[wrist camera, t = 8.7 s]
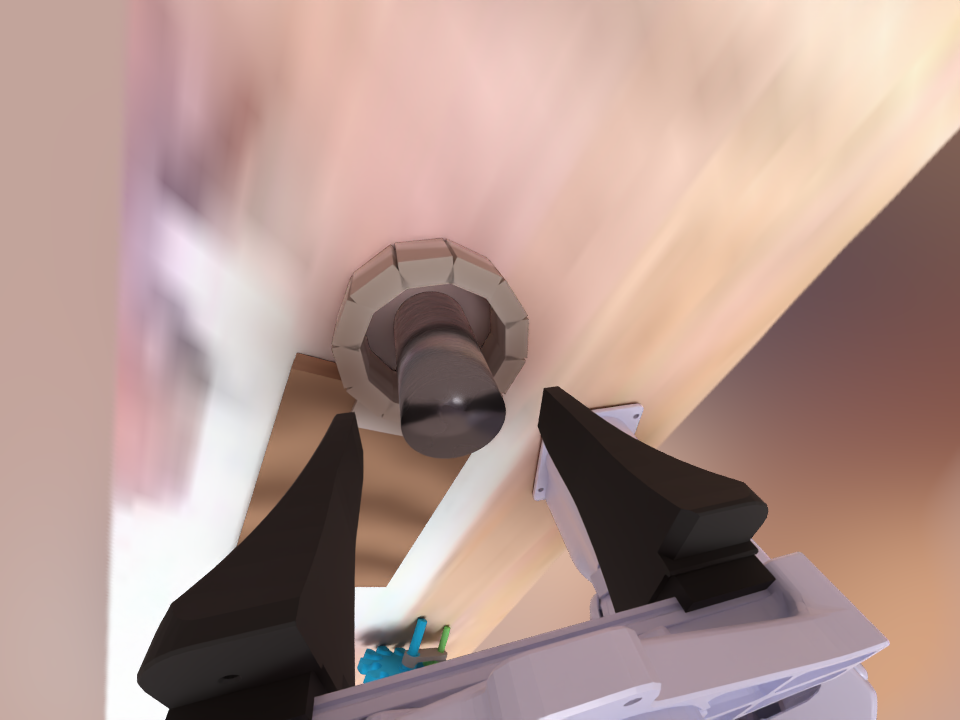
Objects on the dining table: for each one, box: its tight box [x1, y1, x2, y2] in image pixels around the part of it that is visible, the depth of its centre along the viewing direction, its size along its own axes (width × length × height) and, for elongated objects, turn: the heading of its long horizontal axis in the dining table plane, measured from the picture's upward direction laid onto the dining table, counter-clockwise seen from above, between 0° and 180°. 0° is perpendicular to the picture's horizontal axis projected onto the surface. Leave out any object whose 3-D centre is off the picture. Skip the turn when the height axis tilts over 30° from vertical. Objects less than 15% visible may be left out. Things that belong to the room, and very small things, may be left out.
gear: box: [357, 618, 450, 683], centre depth 38 cm, size 11×6×10 cm
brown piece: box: [237, 238, 529, 587], centre depth 22 cm, size 29×12×3 cm, turn 153°
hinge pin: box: [394, 292, 506, 459], centre depth 17 cm, size 4×4×8 cm
